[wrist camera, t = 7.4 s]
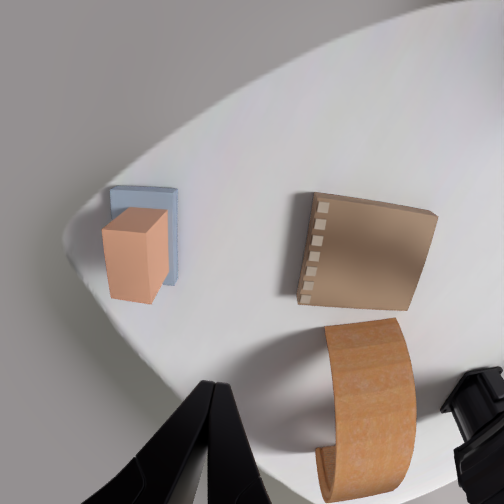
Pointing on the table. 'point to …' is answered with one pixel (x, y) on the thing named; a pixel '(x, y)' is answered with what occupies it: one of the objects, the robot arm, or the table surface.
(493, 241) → the table surface
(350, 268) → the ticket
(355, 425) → the arch
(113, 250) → the stub
